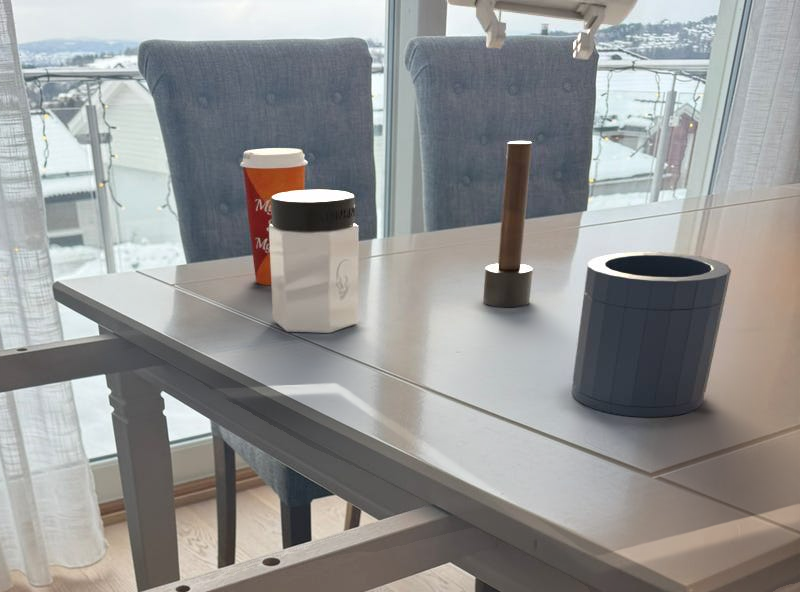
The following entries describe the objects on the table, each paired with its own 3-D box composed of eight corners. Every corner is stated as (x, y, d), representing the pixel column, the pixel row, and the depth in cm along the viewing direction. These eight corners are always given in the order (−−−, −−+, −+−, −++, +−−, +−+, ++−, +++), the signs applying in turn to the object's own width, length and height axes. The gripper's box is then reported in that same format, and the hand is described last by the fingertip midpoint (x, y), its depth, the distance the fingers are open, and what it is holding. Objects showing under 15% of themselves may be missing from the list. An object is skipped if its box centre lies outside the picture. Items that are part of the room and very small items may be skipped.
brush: (512, 294, 105) (526, 138, 96) (538, 304, 101) (555, 142, 92) (474, 299, 103) (485, 141, 95) (499, 309, 99) (512, 146, 91)
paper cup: (260, 290, 109) (253, 156, 101) (238, 277, 115) (230, 150, 107) (321, 283, 111) (319, 151, 104) (296, 271, 117) (292, 145, 109)
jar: (317, 339, 91) (314, 205, 85) (257, 325, 96) (250, 198, 89) (373, 319, 97) (374, 193, 90) (314, 308, 101) (311, 186, 95)
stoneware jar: (643, 369, 81) (664, 247, 76) (730, 404, 73) (761, 271, 68) (546, 387, 78) (561, 260, 72) (626, 425, 70) (649, 287, 64)
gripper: (452, -123, 91) (451, 17, 90) (647, -94, 94) (647, 41, 94) (434, -73, 97) (433, 58, 97) (618, -47, 100) (617, 80, 100)
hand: (540, 50), depth 95 cm, fingers open, 8 cm apart
